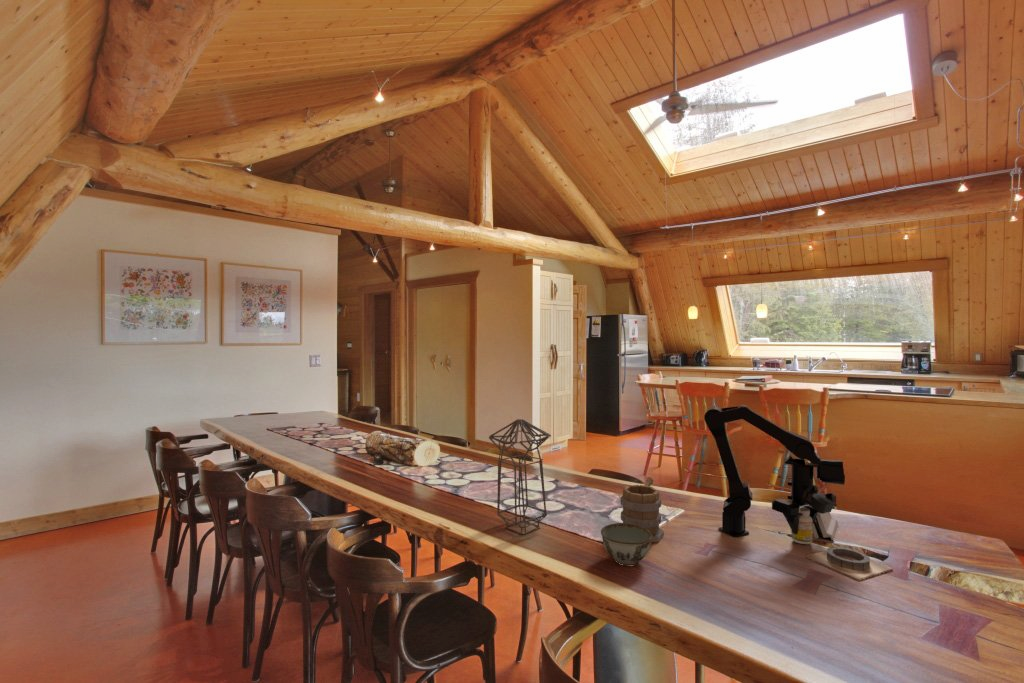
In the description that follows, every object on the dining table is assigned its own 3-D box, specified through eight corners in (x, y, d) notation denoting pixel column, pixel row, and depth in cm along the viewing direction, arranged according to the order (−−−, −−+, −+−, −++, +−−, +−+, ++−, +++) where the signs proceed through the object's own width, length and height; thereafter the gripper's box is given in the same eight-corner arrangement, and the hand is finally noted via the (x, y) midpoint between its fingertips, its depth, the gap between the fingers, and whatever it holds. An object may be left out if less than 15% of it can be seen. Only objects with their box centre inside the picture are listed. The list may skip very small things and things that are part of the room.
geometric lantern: (520, 542, 145) (517, 425, 145) (488, 528, 157) (485, 419, 157) (557, 527, 156) (554, 418, 156) (523, 515, 167) (521, 413, 167)
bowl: (653, 554, 137) (653, 526, 137) (650, 576, 124) (650, 545, 124) (604, 547, 142) (604, 520, 142) (597, 568, 129) (597, 538, 129)
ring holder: (858, 580, 122) (858, 571, 122) (805, 557, 135) (805, 548, 135) (892, 570, 128) (892, 560, 128) (838, 548, 141) (838, 540, 141)
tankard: (655, 546, 142) (655, 495, 142) (613, 537, 149) (614, 488, 149) (672, 524, 159) (672, 478, 159) (634, 516, 166) (634, 472, 166)
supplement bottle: (810, 546, 141) (810, 513, 141) (789, 541, 144) (789, 509, 144) (813, 540, 145) (813, 508, 145) (793, 535, 148) (793, 504, 148)
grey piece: (834, 542, 145) (820, 508, 147) (816, 543, 148) (803, 510, 150) (838, 525, 158) (826, 494, 160) (822, 526, 161) (810, 496, 163)
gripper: (806, 492, 133) (806, 548, 134) (850, 483, 141) (849, 537, 141) (770, 480, 144) (770, 533, 144) (813, 473, 151) (812, 523, 151)
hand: (801, 532), depth 145 cm, fingers closed on supplement bottle, 5 cm apart
